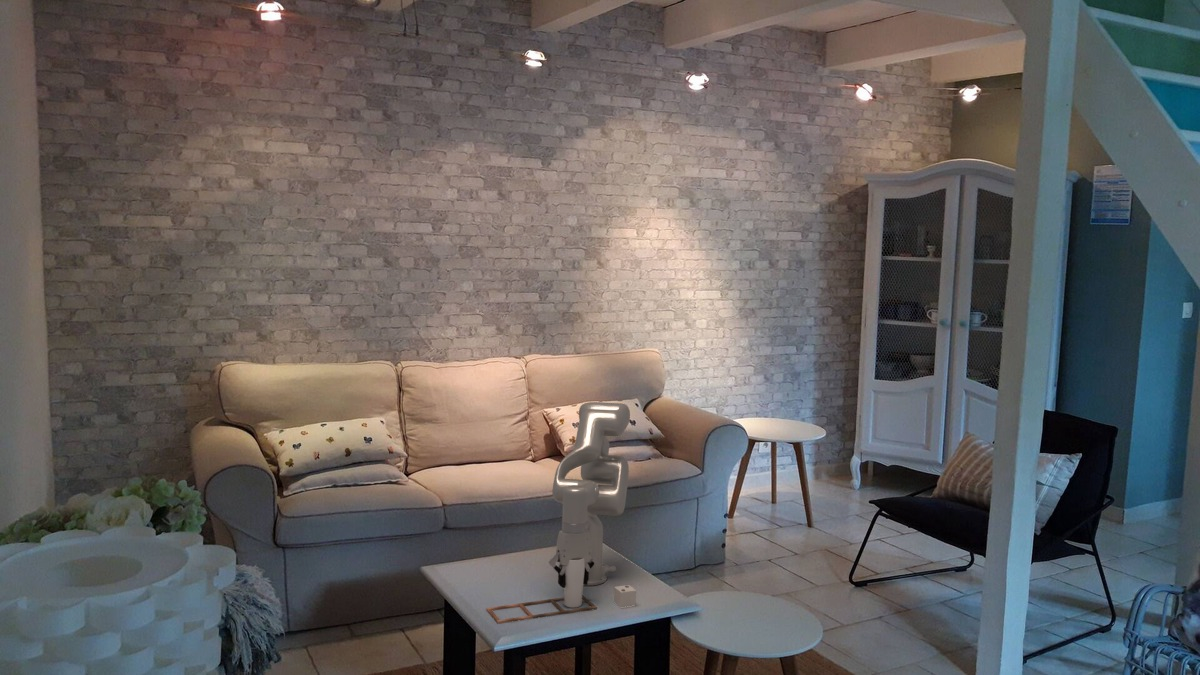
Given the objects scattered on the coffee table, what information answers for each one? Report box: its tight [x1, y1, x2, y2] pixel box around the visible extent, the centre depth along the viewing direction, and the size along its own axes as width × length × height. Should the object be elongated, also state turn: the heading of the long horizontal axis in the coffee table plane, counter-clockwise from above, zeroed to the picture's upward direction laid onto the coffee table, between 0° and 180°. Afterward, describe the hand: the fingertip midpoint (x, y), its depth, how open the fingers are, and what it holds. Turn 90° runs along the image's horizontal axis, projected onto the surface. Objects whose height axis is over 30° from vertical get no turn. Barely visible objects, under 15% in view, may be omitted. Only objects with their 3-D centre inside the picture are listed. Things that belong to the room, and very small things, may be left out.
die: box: [613, 584, 637, 608], centre depth 276 cm, size 5×5×5 cm
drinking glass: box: [563, 558, 585, 609], centre depth 274 cm, size 7×7×15 cm
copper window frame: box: [485, 594, 598, 624], centre depth 271 cm, size 31×11×1 cm, turn 114°
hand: (573, 584), depth 274 cm, fingers closed on drinking glass, 6 cm apart
